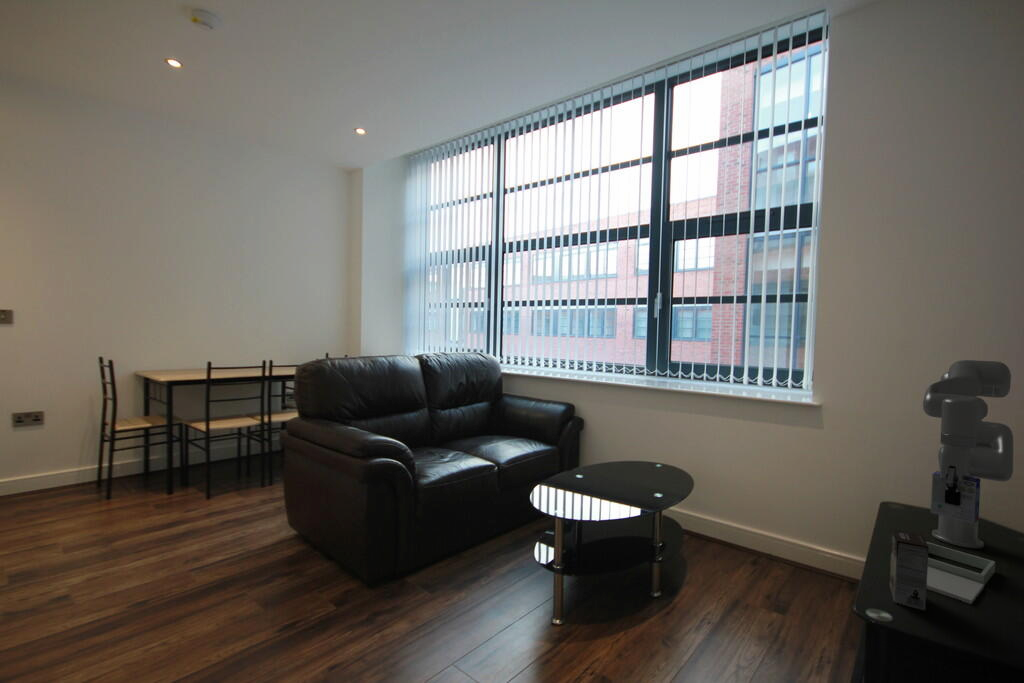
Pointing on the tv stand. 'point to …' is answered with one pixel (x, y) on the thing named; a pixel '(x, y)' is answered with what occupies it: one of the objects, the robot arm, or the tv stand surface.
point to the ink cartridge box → (968, 499)
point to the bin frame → (961, 557)
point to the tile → (953, 585)
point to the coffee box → (909, 569)
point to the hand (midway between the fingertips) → (955, 501)
